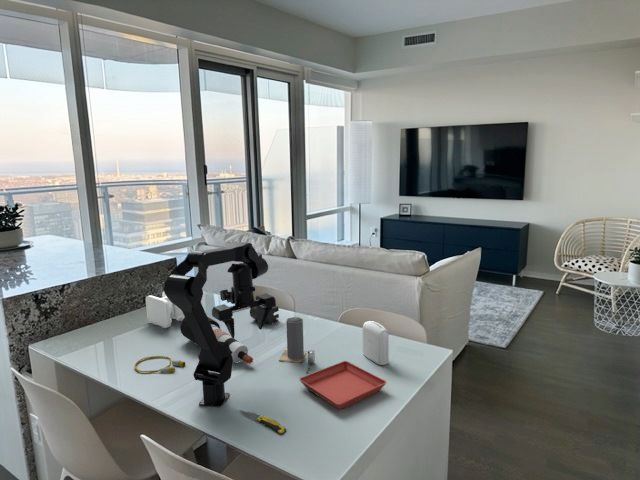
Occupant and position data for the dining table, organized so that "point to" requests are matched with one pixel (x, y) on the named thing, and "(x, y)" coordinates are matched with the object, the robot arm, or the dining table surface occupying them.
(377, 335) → the photo printer
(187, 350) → the dining table surface
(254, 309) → the end cap
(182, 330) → the cable
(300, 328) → the octagonal tapered tumbler
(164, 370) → the extension cord
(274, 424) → the utility knife
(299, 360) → the tan pad
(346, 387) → the plant saucer
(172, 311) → the cable organizer
